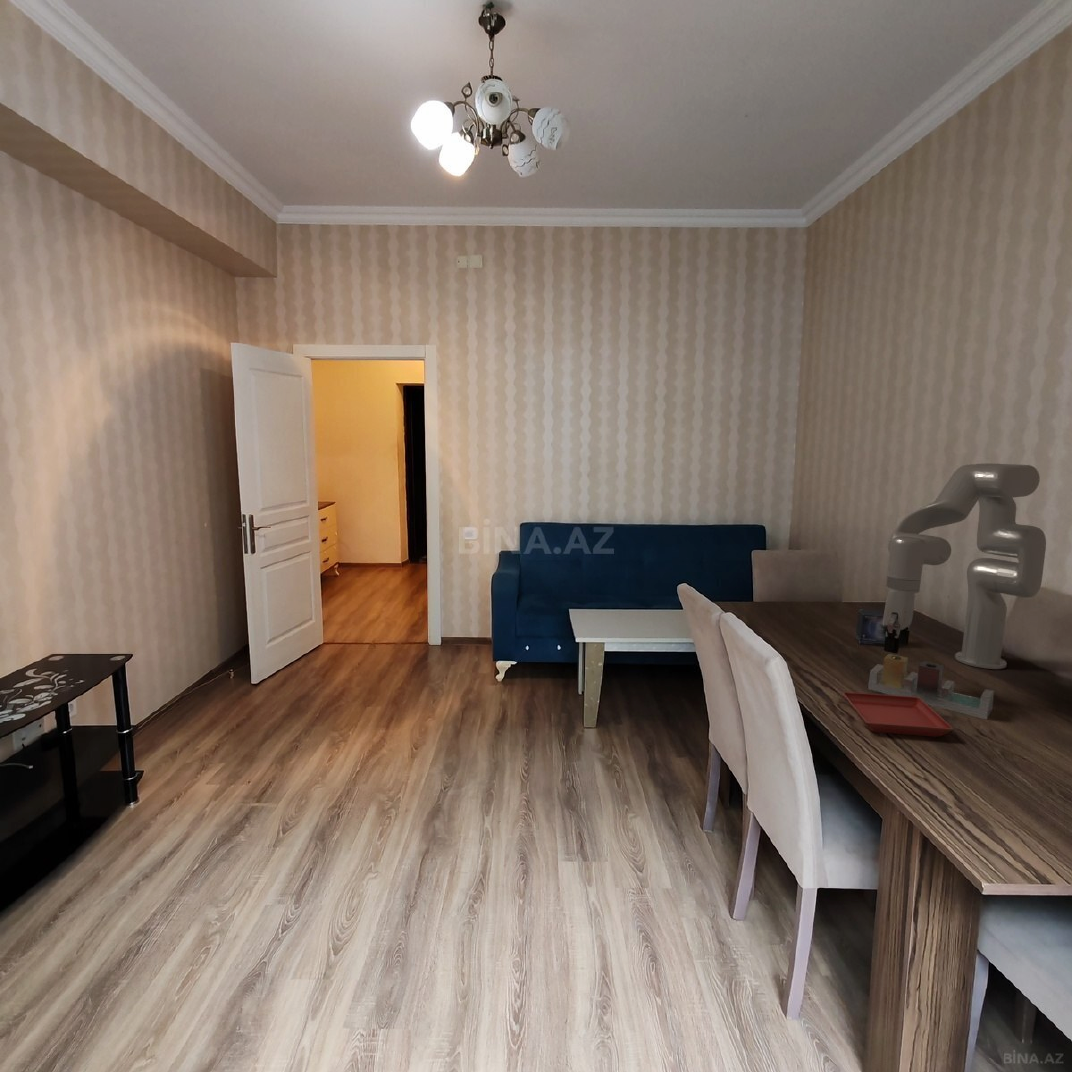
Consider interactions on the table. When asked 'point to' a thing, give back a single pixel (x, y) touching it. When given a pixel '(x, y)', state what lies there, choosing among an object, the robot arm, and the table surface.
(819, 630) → the table surface
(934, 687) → the dark knobbed cube
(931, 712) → the plant saucer
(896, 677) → the yellow tall block
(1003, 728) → the table surface
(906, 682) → the rail
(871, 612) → the small box
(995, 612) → the robot arm
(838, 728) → the table surface
